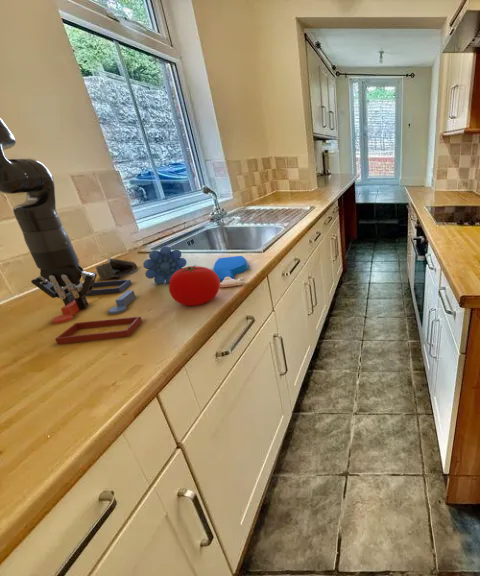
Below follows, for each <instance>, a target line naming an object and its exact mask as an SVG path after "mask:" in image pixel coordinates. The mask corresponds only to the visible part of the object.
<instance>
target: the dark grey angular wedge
mask: <svg viewBox="0 0 480 576" xmlns="http://www.w3.org/2000/svg"><path fill="white" fill-rule="evenodd" d="M107 260H108V262H106V263H103V264H100V265H97V266H95V270H96V274H97V276H98V277H99V279H100V281H108V280H110V279H113V278H117V279H118V280H121V279H122V278H123V277H124V276H125V275H132V274H134V273H135V272H137V271H138V269H139V268H138V265H137V263H136V262H134V261H130V260H129V261H128V260H124V259H118V258H111V257H108V258H107Z"/></svg>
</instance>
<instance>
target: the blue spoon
mask: <svg viewBox="0 0 480 576" xmlns="http://www.w3.org/2000/svg"><path fill="white" fill-rule="evenodd" d="M136 298H137V297H136V293H135V291H134V289H130V290H126V291H125V292H124V293H122V294H121V295H120V296H119V297H118V298H117V299H115V301H114V302H115V303H116V305H115V306H112V307H111V308H109V309H108V313H109V314H110V315H118V314H121V313H124V312H125V311H127V310H128V308H127V307H128V305H129V304H131V303H132V302H133V301H134V300H135V299H136Z"/></svg>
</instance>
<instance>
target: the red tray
mask: <svg viewBox="0 0 480 576" xmlns="http://www.w3.org/2000/svg"><path fill="white" fill-rule="evenodd" d="M142 322H143V319H142V317H141V316H140V315H139V316H130V317H119V318H110V319H101V320H100V319H99V320H91V321H82V322H75V323H73V324H72V325H71V326H70V327H68V328H67V329H66V330H64V331H63V332H62V333H61V334H59V335H58V336H57V337H56V338H54V339H55V342H56V344H57V345H67V344H75V343H84V342H93V341H100V340H101V341H102V340H108V339H109V340H110V339H118V338H119V339H120V338H128V337H130V335H132V333H133V332H134V331H135V330H136V329H138V327H139V326H140V325H141V324H142ZM120 325H121V326H122V325H129V326H127V327H126V328H125V329H124V330H114V331H105V332H96V333H86V334H78V335H74V334H75V333H76V332H77V331H79V330H84V329H93V328H102V327H111V326H120Z"/></svg>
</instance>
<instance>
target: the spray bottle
mask: <svg viewBox="0 0 480 576" xmlns="http://www.w3.org/2000/svg"><path fill="white" fill-rule="evenodd" d="M248 267H249V264H248V261H247V259H246V258H245V257H244V256H242V255H235V256H226V257H219V258H217V259H216V261H215V263H214V265H213V269H212V270H213V271H214V272H215V273H216V274H217V275H218V277H219V279H220V287H219V288H228V287H229V288H230V287H236V286H242V285H246V281H245V280H243V279H244V277H243V276H241V277H239V278H237V279H236V278H235V275H239V274H242V273H244V272H246V271H247V270H248Z"/></svg>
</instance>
